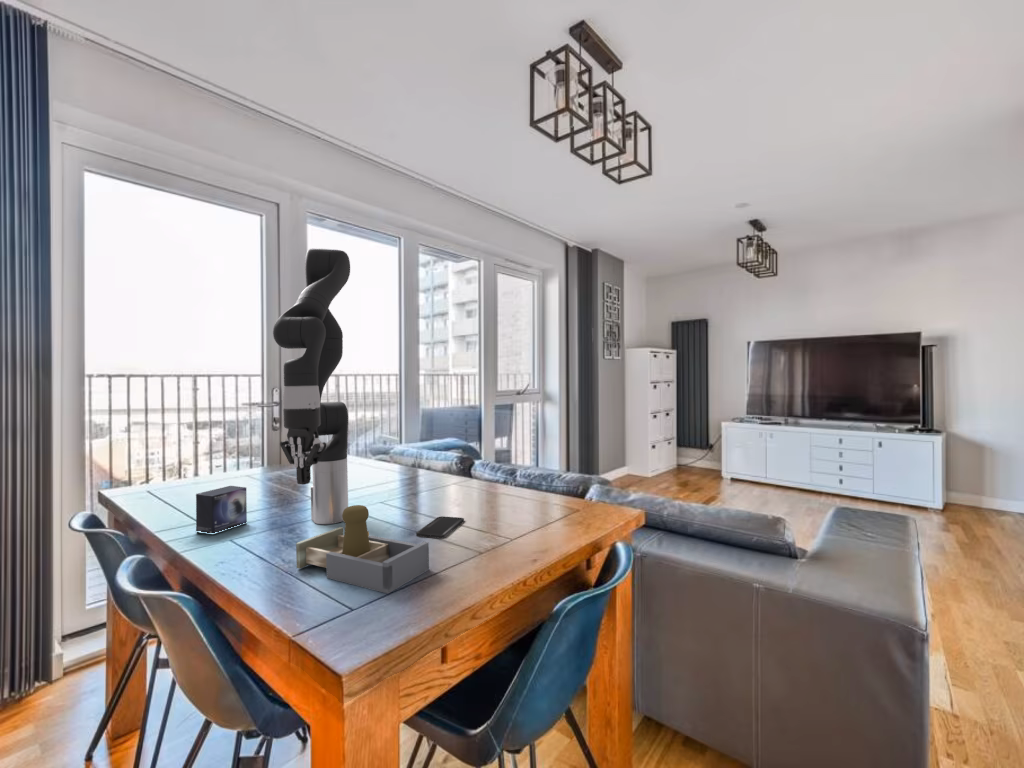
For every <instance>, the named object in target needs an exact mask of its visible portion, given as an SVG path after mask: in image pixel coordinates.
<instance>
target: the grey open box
mask: <svg viewBox="0 0 1024 768" xmlns="http://www.w3.org/2000/svg"><path fill="white" fill-rule="evenodd" d="M368 537H369V540H370V541H375V542H380V543H385V544H389V559H388V560H386V561H384V562H382V563H380V562H375V561H371V560H366V559H362V558H357V557H353V556H348V555H344V554H339V553H335V552H329V553H327V554H326V564H327V568H326V578H327V579H331V580H333V581H338V582H341V583H346V584H349V585H353V586H357V587H361V588H365V589H369V590H372V591H376V592H380V593H383V594H390V593H392V592H394V591H395V590H397V589H399V588H400V587H402V586H403V585H405V584H407V583H409V582H410V581H412V580H414V579H416V578H417V577H419V576H421V575H422V574H424V573H426V572H427V571H429V570H430V555H429V554H430V550H429V548H430V547H429V544H430V543H429V542H428V541H422V542H420V543H414V542H408V541H403V540H397V539H392V538H387V537H381V536H378V535H377V536H376V535H371V534H369V536H368Z"/></svg>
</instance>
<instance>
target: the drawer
mask: <svg viewBox="0 0 1024 768" xmlns="http://www.w3.org/2000/svg"><path fill="white" fill-rule="evenodd" d="M344 532H345V530H344V527H342V526H339V527H336V528H333V529H331V530H328V531H326V532H323V533H320V534H317V535H315V536H312V537H309V538H306V539H304V540H301V541H298V542H296V543H295V547H296V552H295V555H296V556H295V557H296V558H295V559H296V569H298V570H299V569H303V568H305V567H307V566H310V565H313V566H317V567H320V568H324V569H325V568H326V569H327V564H326V554H327V553H329V552H335V553H339V554H342V550H343V541H344ZM369 543H370V549H371V551H369V552H367V553H365V554H362V555H360V556H358V557H357V558H362V559H366V560H371V561H375V562H380V563H382V562H384V561H386V560H388V559H389V544H385V543H380V542H375V541H370V540H369ZM348 556H349V555H348Z"/></svg>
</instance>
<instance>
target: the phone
mask: <svg viewBox="0 0 1024 768" xmlns="http://www.w3.org/2000/svg"><path fill="white" fill-rule="evenodd" d="M463 523H465V518H464V517H456V516H444V515H443V516H441V515H440V516H437V517H436V518H434V519H433V520H432V521H430V522H429V523H428V524H426V525H425V526H423V527H422V528H420V529H419V530H417V531H416V533H415V534H416V537H418V538H429V539H444V538H446V537H448V536H449V535H450V534H451V533H453V532H454V531H455V530H456V529H457V528H458V527H460V525H462V524H463Z"/></svg>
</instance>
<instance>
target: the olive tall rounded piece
mask: <svg viewBox="0 0 1024 768" xmlns="http://www.w3.org/2000/svg"><path fill="white" fill-rule="evenodd" d="M369 513H370V512H369V509H368V507H367V506H365V505H361V504H356V505H351V506H348V507H347V508H345V509H344V511H343V514H342V518H343V521H342V522H344V523H345V525H344V541H343V550H342V554H344V555H349V556H353V557H358V556H360V555H362V554H365V553H367V552H369V551H371V549H370V543H369V537H368V531H369V530H368V525H367V520H368V519H369V516H370V515H369Z"/></svg>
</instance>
